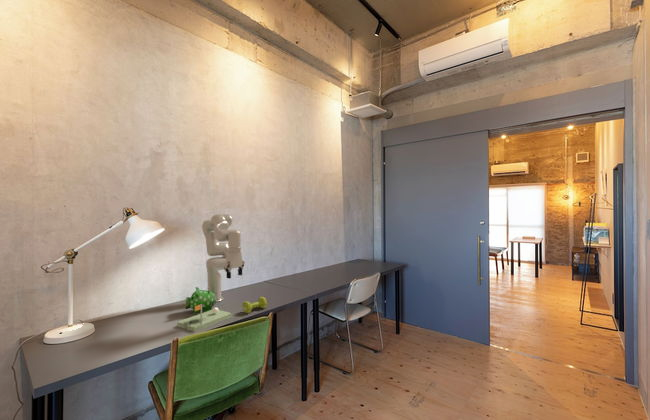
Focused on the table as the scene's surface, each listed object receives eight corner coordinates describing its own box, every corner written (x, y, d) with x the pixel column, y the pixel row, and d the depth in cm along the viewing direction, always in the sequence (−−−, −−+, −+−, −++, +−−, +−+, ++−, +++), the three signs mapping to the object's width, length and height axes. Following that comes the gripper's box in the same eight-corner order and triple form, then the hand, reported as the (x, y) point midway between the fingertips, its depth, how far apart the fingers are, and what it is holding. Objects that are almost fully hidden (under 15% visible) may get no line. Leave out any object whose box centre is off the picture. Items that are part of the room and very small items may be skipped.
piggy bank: (187, 309, 199) (186, 287, 199) (215, 306, 206) (215, 284, 205) (185, 316, 186) (185, 293, 186) (215, 313, 192) (215, 290, 192)
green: (177, 326, 171) (177, 302, 171) (214, 312, 193) (214, 291, 193) (194, 332, 162) (194, 306, 162) (231, 317, 185) (231, 295, 185)
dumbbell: (247, 315, 189) (247, 303, 189) (240, 312, 194) (240, 301, 194) (268, 308, 201) (268, 298, 201) (261, 305, 207) (261, 295, 206)
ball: (210, 314, 183) (210, 307, 183) (215, 312, 186) (215, 305, 186) (214, 315, 181) (214, 308, 181) (220, 313, 184) (220, 307, 184)
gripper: (240, 248, 198) (240, 273, 198) (219, 251, 183) (219, 278, 183) (248, 248, 194) (248, 274, 194) (228, 252, 179) (228, 280, 179)
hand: (234, 276), depth 188 cm, fingers open, 9 cm apart
